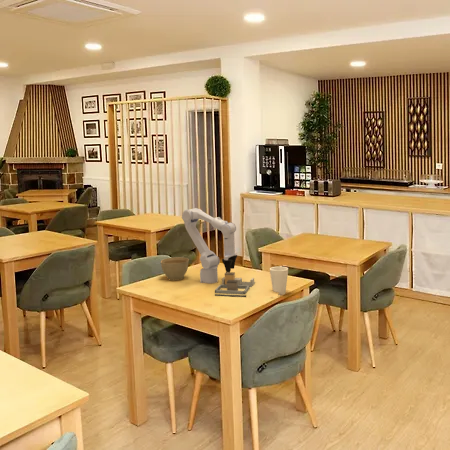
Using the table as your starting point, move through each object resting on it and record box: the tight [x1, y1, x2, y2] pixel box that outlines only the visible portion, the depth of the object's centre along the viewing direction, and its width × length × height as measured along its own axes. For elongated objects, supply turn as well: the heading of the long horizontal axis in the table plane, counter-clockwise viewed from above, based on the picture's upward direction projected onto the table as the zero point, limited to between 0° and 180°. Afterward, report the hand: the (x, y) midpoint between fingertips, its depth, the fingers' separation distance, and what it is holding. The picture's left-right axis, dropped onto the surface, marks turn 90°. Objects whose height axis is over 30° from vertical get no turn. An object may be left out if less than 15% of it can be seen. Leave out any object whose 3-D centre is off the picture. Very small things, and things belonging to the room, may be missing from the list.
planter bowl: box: [160, 256, 190, 281], centre depth 325 cm, size 16×16×11 cm
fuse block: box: [221, 276, 256, 288], centre depth 303 cm, size 10×17×4 cm, turn 75°
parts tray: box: [214, 284, 251, 298], centre depth 291 cm, size 16×11×3 cm
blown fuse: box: [226, 280, 239, 291], centre depth 291 cm, size 5×3×6 cm, turn 76°
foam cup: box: [269, 266, 289, 296], centre depth 288 cm, size 10×9×13 cm
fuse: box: [224, 271, 236, 284], centre depth 304 cm, size 5×3×6 cm, turn 75°
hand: (230, 270), depth 302 cm, fingers open, 7 cm apart
